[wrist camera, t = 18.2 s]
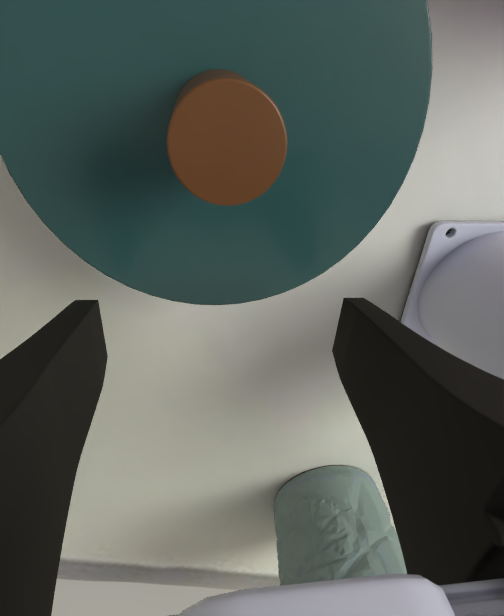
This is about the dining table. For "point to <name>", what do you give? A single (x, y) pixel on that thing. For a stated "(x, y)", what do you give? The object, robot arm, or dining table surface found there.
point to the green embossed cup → (334, 528)
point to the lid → (212, 133)
